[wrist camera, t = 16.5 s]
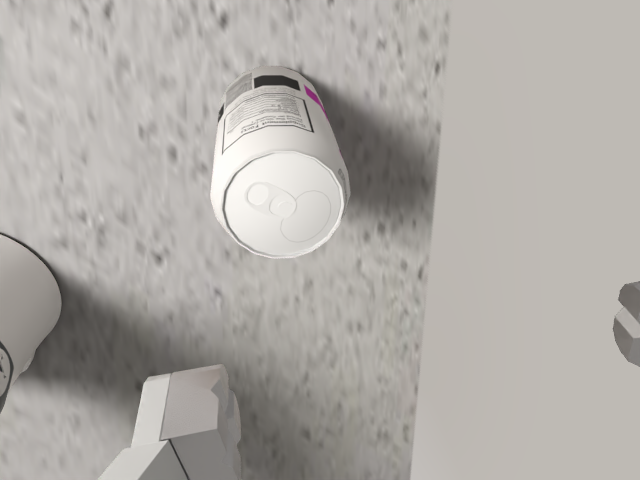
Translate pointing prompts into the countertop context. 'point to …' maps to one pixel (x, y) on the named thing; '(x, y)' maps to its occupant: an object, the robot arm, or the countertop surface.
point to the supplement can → (277, 165)
